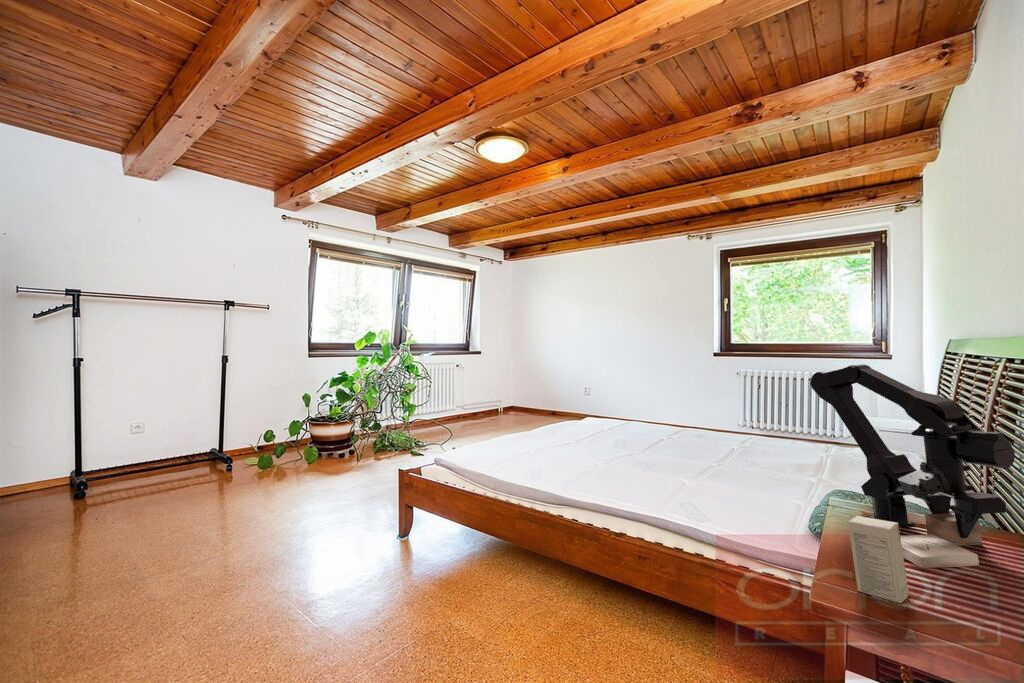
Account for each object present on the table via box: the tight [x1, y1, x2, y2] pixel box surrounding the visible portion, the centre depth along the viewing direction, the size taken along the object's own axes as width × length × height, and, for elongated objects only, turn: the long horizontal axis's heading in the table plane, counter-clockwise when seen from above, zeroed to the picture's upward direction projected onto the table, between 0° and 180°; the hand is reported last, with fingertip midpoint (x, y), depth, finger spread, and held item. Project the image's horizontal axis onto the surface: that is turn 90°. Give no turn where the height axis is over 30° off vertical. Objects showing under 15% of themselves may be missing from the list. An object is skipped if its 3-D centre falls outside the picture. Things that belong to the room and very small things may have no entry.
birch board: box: [900, 533, 980, 569], centre depth 90 cm, size 10×10×2 cm
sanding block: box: [924, 512, 983, 547], centre depth 95 cm, size 4×7×5 cm, turn 86°
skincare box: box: [847, 515, 910, 604], centre depth 78 cm, size 6×4×12 cm
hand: (953, 533), depth 95 cm, fingers closed on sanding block, 4 cm apart
